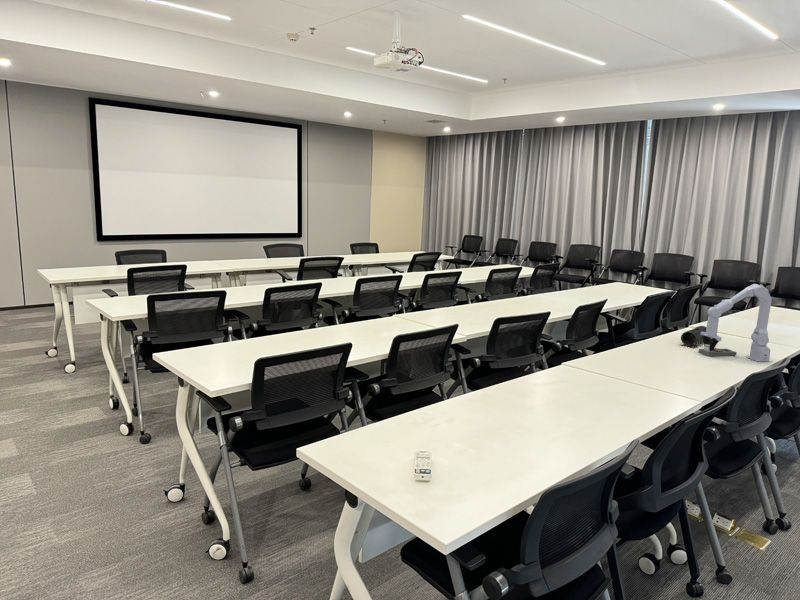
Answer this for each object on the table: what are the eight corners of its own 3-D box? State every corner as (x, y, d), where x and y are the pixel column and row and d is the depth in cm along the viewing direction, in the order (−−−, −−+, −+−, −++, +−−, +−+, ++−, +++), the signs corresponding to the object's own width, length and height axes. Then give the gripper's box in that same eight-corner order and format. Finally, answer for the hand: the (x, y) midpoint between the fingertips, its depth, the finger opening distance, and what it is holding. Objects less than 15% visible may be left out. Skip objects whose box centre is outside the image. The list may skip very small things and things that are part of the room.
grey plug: (713, 355, 319) (714, 345, 318) (707, 355, 319) (709, 345, 317) (708, 353, 323) (710, 343, 322) (703, 353, 322) (704, 344, 321)
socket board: (736, 356, 320) (736, 350, 319) (708, 356, 316) (708, 351, 316) (725, 352, 327) (726, 347, 327) (698, 352, 324) (699, 347, 323)
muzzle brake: (679, 345, 341) (681, 329, 339) (694, 339, 360) (696, 324, 358) (695, 348, 334) (697, 332, 332) (710, 342, 353) (712, 326, 351)
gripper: (697, 324, 324) (694, 346, 326) (715, 330, 310) (712, 353, 312) (707, 324, 325) (704, 346, 328) (726, 330, 311) (722, 352, 314)
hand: (708, 349), depth 320 cm, fingers closed on grey plug, 4 cm apart
